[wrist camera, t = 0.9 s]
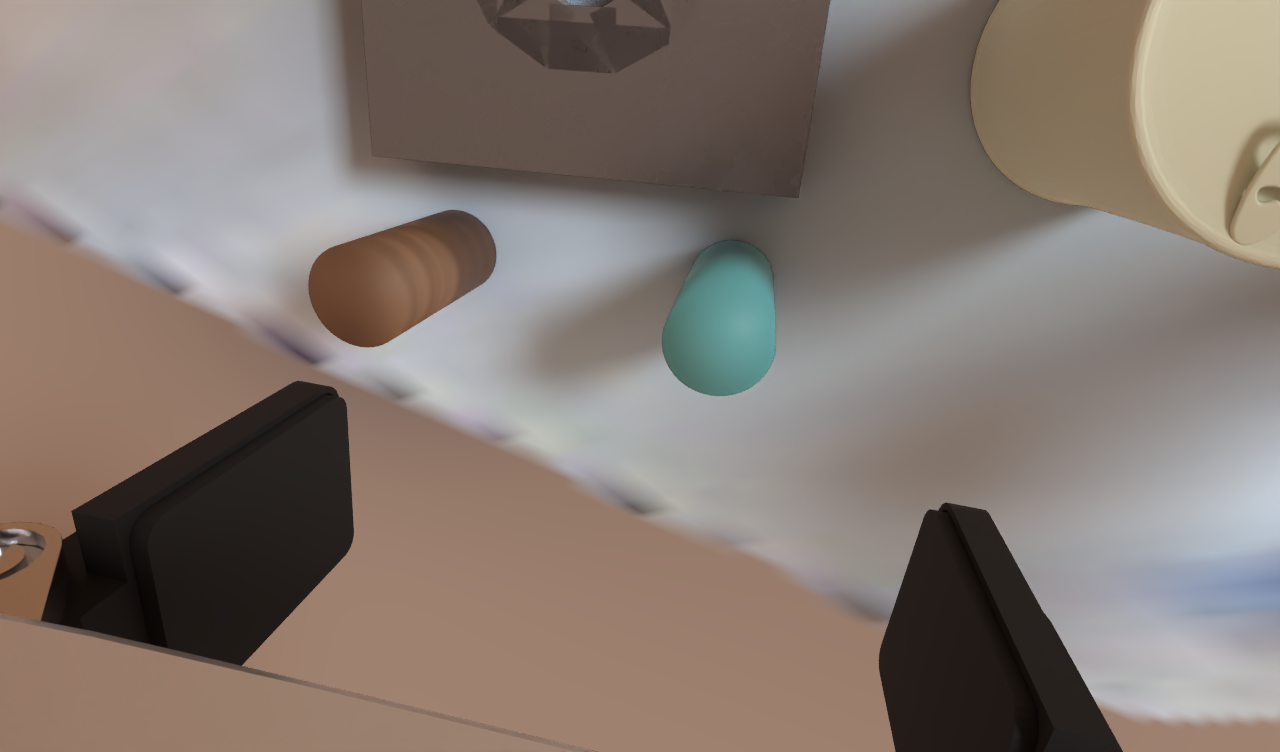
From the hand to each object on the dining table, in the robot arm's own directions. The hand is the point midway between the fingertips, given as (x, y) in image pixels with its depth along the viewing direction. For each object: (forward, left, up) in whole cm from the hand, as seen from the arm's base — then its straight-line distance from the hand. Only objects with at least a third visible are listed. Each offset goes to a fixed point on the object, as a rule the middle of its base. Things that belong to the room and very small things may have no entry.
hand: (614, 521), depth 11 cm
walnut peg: (+11, +1, -19) cm, 22 cm away
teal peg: (-1, +1, -19) cm, 19 cm away
